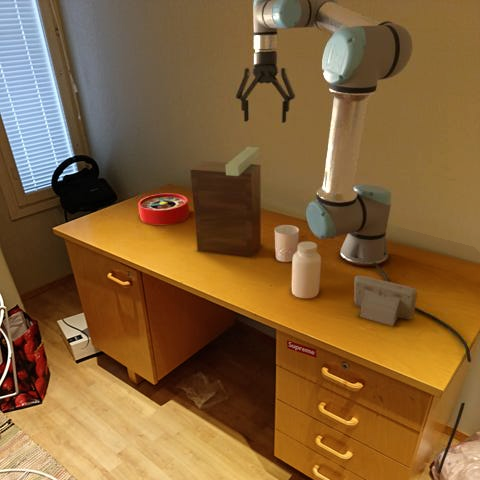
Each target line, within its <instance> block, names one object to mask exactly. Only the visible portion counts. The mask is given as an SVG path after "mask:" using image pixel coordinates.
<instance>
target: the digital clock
mask: <svg viewBox="0 0 480 480" xmlns="http://www.w3.org/2000/svg"><path fill="white" fill-rule="evenodd" d="M353 281H354V282H353V291H354V293H353V294H354V298H353V299H354V304H355V305H356V306H357V307H360V314H359V315H360V316H359V317H360V318H363V319H365V320H370V321H373V322H376V323H380V324H384V325H388V326H391V327H394V326H395V324H396V322H397V320H398V318H400V319H404V320H411V319H412V318H413V317H414V315H415V311H416V310H415V307H416V303H417V297H418V291H417V290H416V288H414V287H412V286H407V285H403V284H399V283H395V282H390V281H389V282H387V281H386V280H382V279H378V278H374V277H370V276H365V275H356V276H354V280H353Z"/></svg>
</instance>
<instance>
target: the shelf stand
mask: <svg viewBox="0 0 480 480" xmlns="http://www.w3.org/2000/svg"><path fill="white" fill-rule="evenodd" d="M228 163H229V162H222V161H221V162H220V161H206V160H202V161H200V162H199V163H198V164H196V165H195V166H193V167H192V168H191V169H189V171H190V181H191V193H192V204H193V215H194V217H193V218H194V226H195V227H194V229H195V237H196V238H195V239H196V251H197V252H201V253H208V254H217V255H225V256H233V257H240V258H241V257H242V258H250V259H253V258H254V257H255V254H256V253H257V252H258V250H259V249H260V247H262V246H261V244H262V243H261V241H262V239H261V238H262V237H261V236H262V235H261V233H262V230H261V229H262V228H261V227H262V225H261V224H262V222H261V221H262V220H261V219H262V218H261V213H262V212H261V210H262V209H261V207H262V206H261V205H262V204H261V198H262V197H261V190H262V189H261V186H262V185H261V181H262V180H261V179H262V178H261V177H262V176H261V175H262V174H261V164H253V163H252V164H251V165H250V166H249V167H248V168H247V169H246V170H245V171H244V172H242V173H241V174H240V175H239V176H231V175H226V164H228Z"/></svg>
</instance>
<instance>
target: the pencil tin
mask: <svg viewBox="0 0 480 480" xmlns="http://www.w3.org/2000/svg"><path fill="white" fill-rule="evenodd" d="M259 158H260V147H254V146H247V147H245V149H244V150H242V151H241V152H240V153H238V155H237V154H236V156H235V157H234V158H232V159H231V160H230V161H229V162H227V163H228V164H226V175H231V176H239V175H240V174H241V173H242V172H244V171H245V170H246V169H247V168H248V167H249V166H250V165H251V164H253V163H255V162H256V161H257V160H258V159H259Z"/></svg>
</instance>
